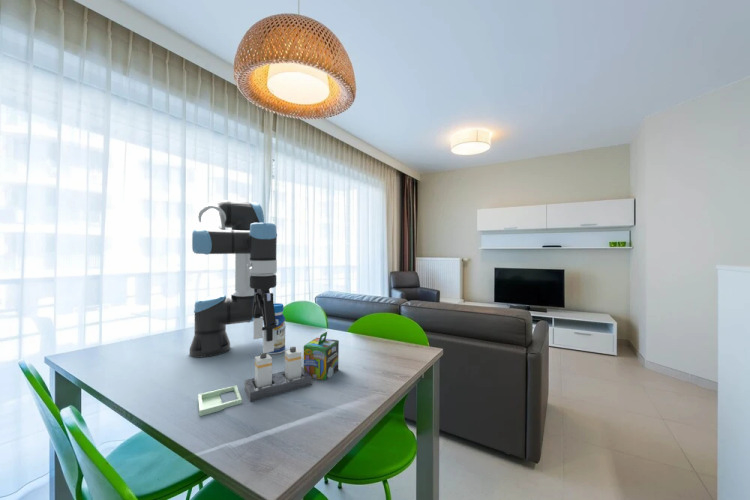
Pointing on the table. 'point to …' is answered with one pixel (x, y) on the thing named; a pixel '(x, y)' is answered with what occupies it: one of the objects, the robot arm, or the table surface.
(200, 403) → the tray
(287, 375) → the twin plug
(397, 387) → the table surface
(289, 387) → the grey slotted holder
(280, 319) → the beverage bottle
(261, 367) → the plug
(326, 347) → the chalk box
